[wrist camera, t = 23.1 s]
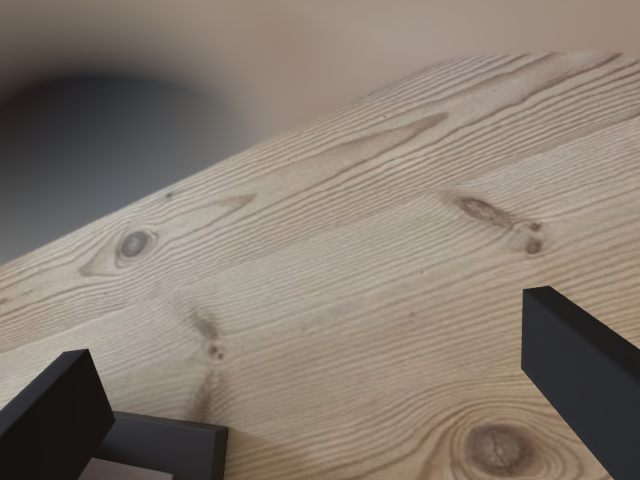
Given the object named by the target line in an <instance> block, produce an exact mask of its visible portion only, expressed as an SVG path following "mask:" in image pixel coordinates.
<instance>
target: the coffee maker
mask: <svg viewBox="0 0 640 480" xmlns="http://www.w3.org/2000/svg"><path fill="white" fill-rule="evenodd" d="M112 412H113V414H114V417H115V419H116V422H115V423H114V425H113V426H112V428H111V429H110V431H109V433H108V434H107V436H106V437H105V439H104V440H103V442H102V443H101V445H100V446H99V448H98V449H97V451H96V452H95V454H94V455H93V457H92V458H91V460H90V461H89V463H88V464H87V466H86V467H85V469H84V471H83V472H82V474H81V475H80V477H79V478H78V480H223V476H224V466H225V456H226V446H227V436H228V427H224V426H217V425H210V424H203V423H196V422H188V421H181V420H174V419H167V418H160V417H153V416H146V415H139V414H131V413H124V412H117V411H112Z"/></svg>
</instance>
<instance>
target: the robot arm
mask: <svg viewBox="0 0 640 480" xmlns="http://www.w3.org/2000/svg"><path fill="white" fill-rule="evenodd" d="M521 369H522V370H523V371H524V372H525V373H526V375H527V376H528V377H529V378H530V379H531V381H532V382H533V383H534V384H535V385H536V387H537V388H538V389H539V390H540V391H541V393H542V394H543V395H544V396H545V397H546V399H547V400H548V401H549V402H550V403H551V405H552V406H553V407H554V408H555V409H556V410H557V412H558V413H559V414H560V415H561V416H562V418H563V419H564V420H565V421H566V422H567V424H568V425H569V426H570V427H571V428H572V430H573V431H574V432H575V433H576V434H577V436H578V437H579V438H580V439H581V440H582V442H583V443H584V444H585V445H586V446H587V448H588V449H589V450H590V451H591V452H592V454H593V455H594V456H595V457H596V458H597V460H598V461H599V462H600V463H601V464H602V466H603V467H604V468H605V469H606V470H607V472H608V473H609V474H610V475H611V476H612V478H613V479H614V480H640V349H638V348H637V347H636V346H634V345H633V344H631V343H630V342H628V341H627V340H626V339H624V338H623V337H621V336H620V335H618V334H617V333H616V332H614V331H613V330H611V329H610V328H609V327H607V326H606V325H604V324H603V323H601V322H600V321H599V320H597V319H596V318H594V317H593V316H592V315H590V314H589V313H587V312H586V311H584V310H583V309H582V308H580V307H579V306H577V305H576V304H574V303H573V302H572V301H570V300H569V299H567V298H566V297H565V296H563V295H562V294H560V293H559V292H557V291H556V290H555V289H553V288H552V287H550V286H543V287H536V288H529V289H523V308H522V353H521ZM115 422H116V419H115V417H114V414H113V412H112V409H111V406H110V404H109V401H108V399H107V396H106V394H105V391H104V388H103V386H102V383H101V381H100V378H99V375H98V373H97V370H96V368H95V365H94V362H93V360H92V357H91V355H90V352H89V349H82V350H74V351H67V352H63V353H62V354H61V355H60V356H59V357H58V358H57V359H56V360H54V361H53V362H52V363H51V364H50V365H49V366H48V367H47V368H46V369H45V370H44V371H43V372H42V373H40V374H39V375H38V376H37V377H36V378H35V379H34V380H33V381H32V382H31V383H30V384H29V385H27V386H26V387H25V388H24V389H23V390H22V391H21V392H20V393H19V394H18V395H17V396H16V397H15V398H13V399H12V400H11V401H10V402H9V403H8V404H7V405H6V406H5V407H4V408H3V409H2V410H0V480H78V478H79V477H80V475H81V474H82V472H83V471H84V469H85V467H86V466H87V464H88V463H89V461H90V460H91V458H92V457H93V455H94V454H95V452H96V451H97V449H98V448H99V446H100V445H101V443H102V442H103V440H104V439H105V437H106V436H107V434H108V433H109V431H110V429H111V428H112V426H113V425H114V423H115Z"/></svg>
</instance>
